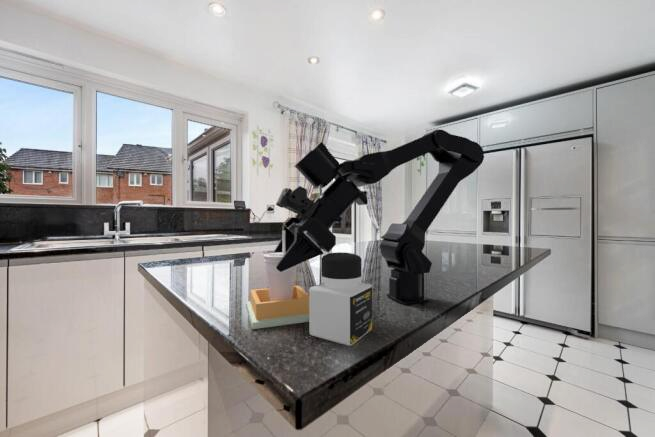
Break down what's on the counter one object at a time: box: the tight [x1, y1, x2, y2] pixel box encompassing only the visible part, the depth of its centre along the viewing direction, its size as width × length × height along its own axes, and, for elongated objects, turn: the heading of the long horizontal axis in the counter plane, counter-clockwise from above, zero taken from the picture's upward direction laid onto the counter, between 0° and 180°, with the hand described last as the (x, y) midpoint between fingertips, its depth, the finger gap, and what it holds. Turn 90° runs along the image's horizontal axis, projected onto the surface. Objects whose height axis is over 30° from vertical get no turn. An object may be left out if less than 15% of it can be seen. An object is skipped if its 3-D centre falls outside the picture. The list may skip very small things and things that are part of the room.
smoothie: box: [262, 230, 297, 301], centre depth 52 cm, size 6×6×14 cm
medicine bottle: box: [308, 251, 373, 347], centre depth 43 cm, size 7×7×12 cm
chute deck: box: [245, 285, 309, 330], centre depth 53 cm, size 20×12×4 cm, turn 111°
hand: (274, 265), depth 52 cm, fingers open, 9 cm apart
